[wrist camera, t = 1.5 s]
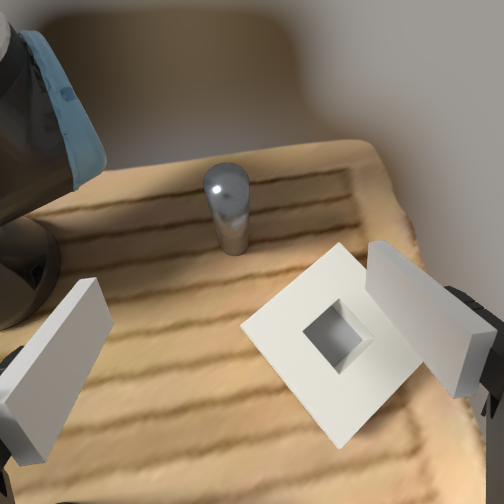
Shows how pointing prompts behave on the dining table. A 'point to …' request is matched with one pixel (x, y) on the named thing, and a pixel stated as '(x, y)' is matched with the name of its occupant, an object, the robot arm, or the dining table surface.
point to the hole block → (333, 344)
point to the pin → (229, 206)
